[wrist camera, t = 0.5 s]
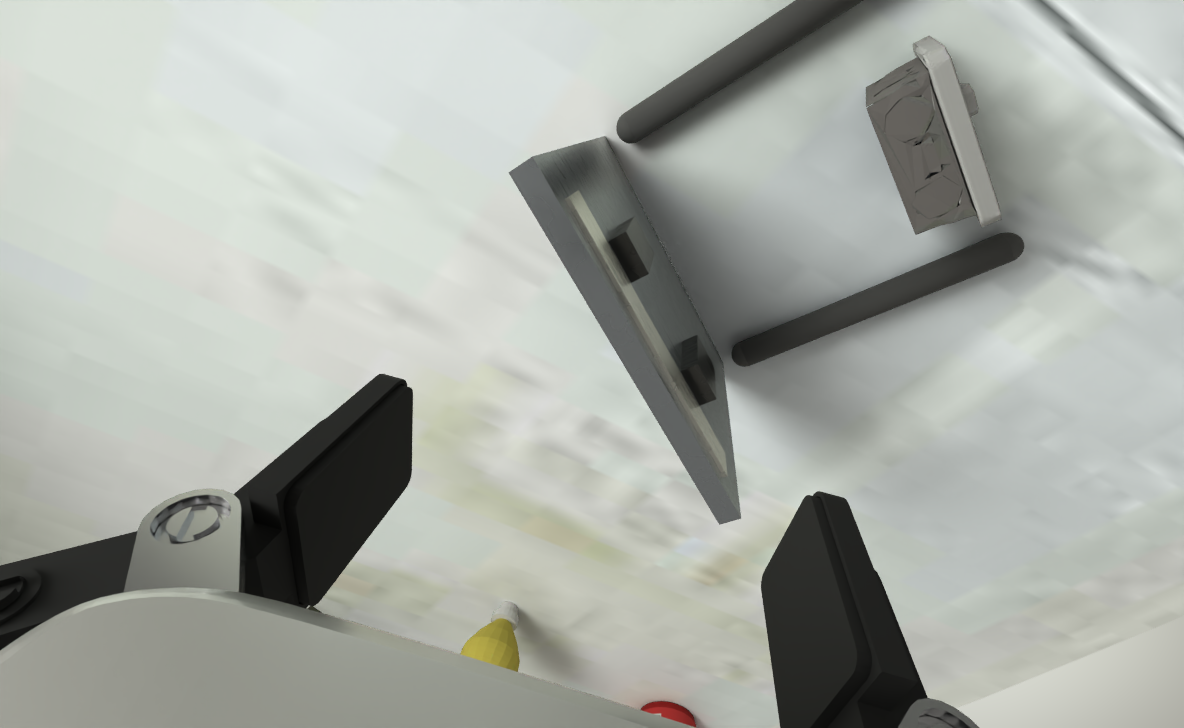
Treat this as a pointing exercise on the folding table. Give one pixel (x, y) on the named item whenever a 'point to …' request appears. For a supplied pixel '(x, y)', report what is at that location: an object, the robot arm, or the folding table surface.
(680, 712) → the canned food
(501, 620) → the light bulb
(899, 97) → the electrical switch
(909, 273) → the cable far
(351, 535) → the robot arm
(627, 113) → the cable near
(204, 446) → the folding table surface
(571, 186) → the panel
